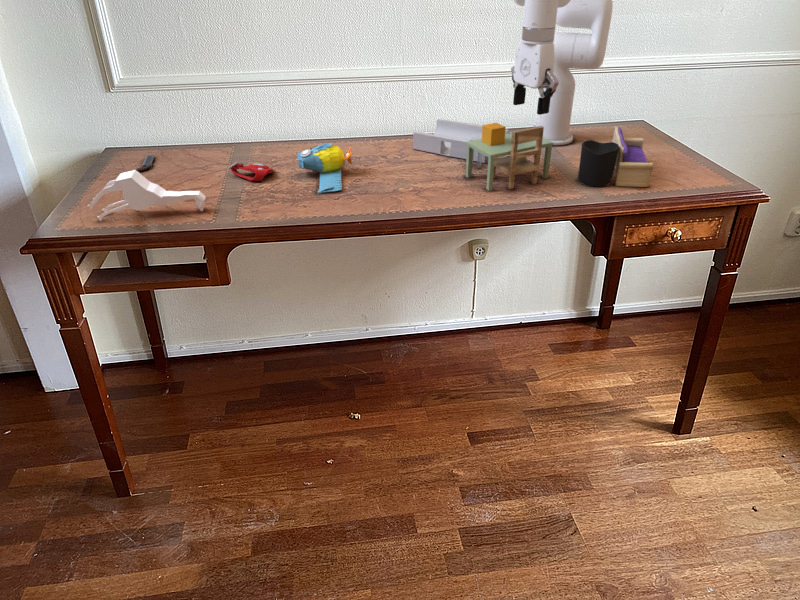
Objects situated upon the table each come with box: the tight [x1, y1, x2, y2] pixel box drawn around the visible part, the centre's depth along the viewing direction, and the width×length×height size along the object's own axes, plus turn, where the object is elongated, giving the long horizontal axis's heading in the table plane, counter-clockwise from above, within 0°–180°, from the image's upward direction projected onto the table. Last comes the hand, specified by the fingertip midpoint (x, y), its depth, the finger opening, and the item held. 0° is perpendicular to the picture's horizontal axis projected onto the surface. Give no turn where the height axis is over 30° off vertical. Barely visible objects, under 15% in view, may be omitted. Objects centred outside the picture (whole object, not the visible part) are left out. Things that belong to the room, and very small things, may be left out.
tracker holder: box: [228, 161, 274, 182], centre depth 170 cm, size 12×4×10 cm
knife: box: [135, 153, 155, 173], centre depth 181 cm, size 14×4×1 cm, turn 11°
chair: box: [493, 126, 544, 190], centre depth 161 cm, size 10×9×15 cm
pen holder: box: [577, 139, 619, 188], centre depth 161 cm, size 9×9×10 cm
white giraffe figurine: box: [87, 169, 207, 222], centre depth 149 cm, size 5×16×25 cm
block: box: [482, 122, 506, 146], centre depth 161 cm, size 4×4×4 cm
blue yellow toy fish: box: [297, 142, 353, 194], centre depth 170 cm, size 28×9×15 cm
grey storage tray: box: [412, 118, 510, 169], centre depth 184 cm, size 25×21×8 cm
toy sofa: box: [611, 126, 654, 188], centre depth 166 cm, size 21×9×10 cm, turn 169°
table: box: [465, 132, 554, 192], centre depth 165 cm, size 12×20×10 cm, turn 117°
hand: (530, 108), depth 150 cm, fingers open, 9 cm apart
